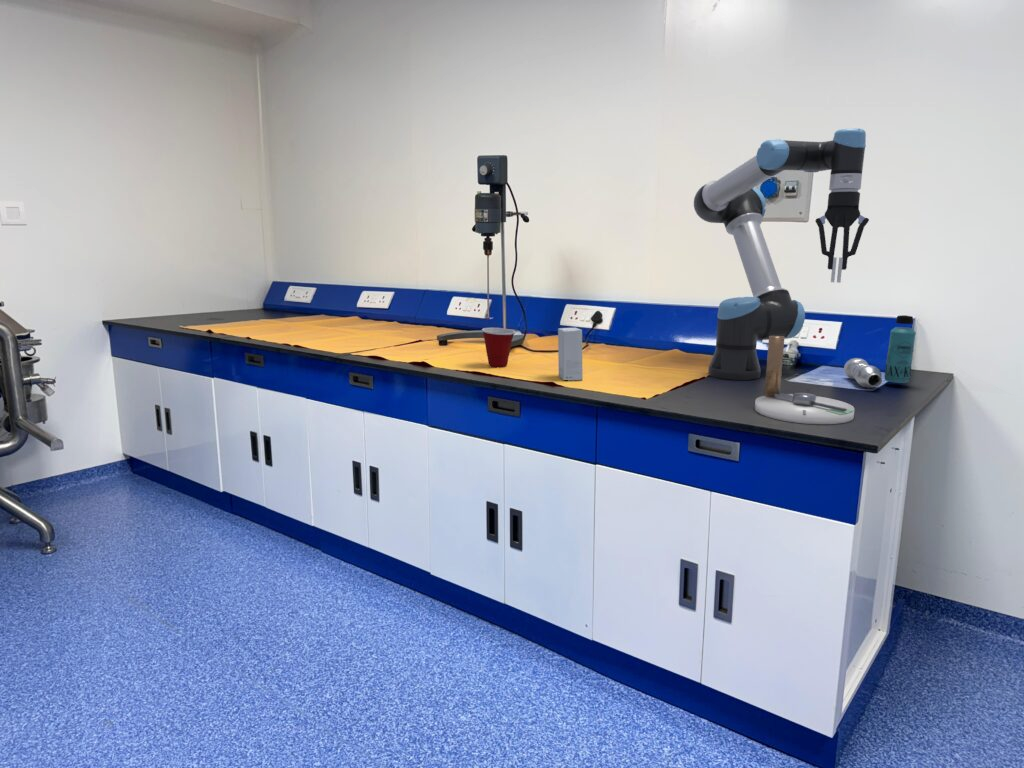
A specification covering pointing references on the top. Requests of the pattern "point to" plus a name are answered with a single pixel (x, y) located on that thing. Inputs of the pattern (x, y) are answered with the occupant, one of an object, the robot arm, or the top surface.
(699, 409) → the top surface
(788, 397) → the crank handle
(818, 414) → the round white plate
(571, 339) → the skincare box
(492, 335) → the plastic cup
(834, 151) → the robot arm
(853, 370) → the silver metal bottle
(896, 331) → the beverage bottle
